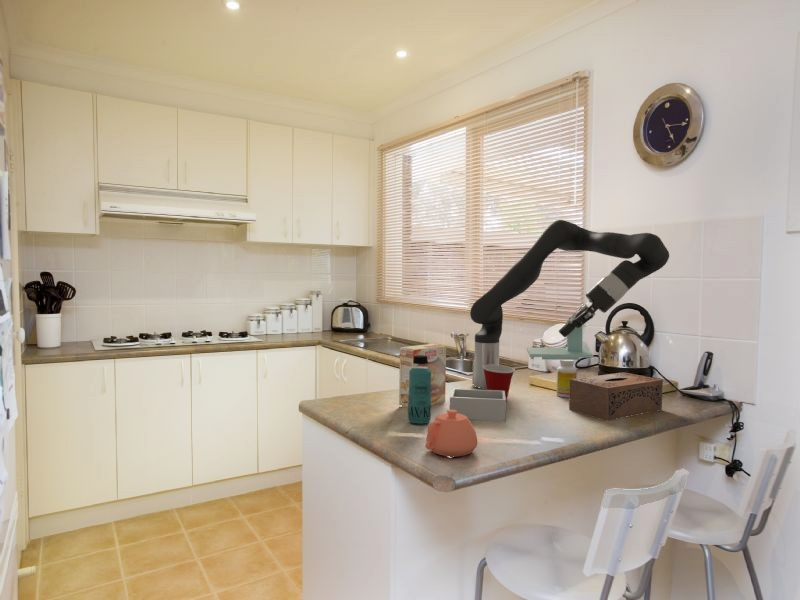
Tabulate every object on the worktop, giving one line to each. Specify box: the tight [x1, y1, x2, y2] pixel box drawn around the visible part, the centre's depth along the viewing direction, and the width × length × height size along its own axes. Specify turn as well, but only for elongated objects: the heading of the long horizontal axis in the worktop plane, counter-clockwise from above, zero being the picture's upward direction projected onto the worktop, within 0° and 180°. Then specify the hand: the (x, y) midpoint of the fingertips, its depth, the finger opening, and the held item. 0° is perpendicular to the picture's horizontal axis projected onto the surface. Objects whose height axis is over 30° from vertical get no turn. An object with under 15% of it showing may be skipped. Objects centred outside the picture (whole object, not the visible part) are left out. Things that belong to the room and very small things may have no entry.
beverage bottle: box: [407, 355, 432, 424], centre depth 148 cm, size 6×7×20 cm
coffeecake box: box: [398, 343, 447, 408], centre depth 171 cm, size 15×7×20 cm, turn 131°
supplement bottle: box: [556, 360, 578, 399], centre depth 186 cm, size 7×7×13 cm
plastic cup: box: [482, 364, 516, 402], centre depth 176 cm, size 11×11×12 cm
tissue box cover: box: [568, 371, 664, 421], centre depth 167 cm, size 26×14×10 cm, turn 119°
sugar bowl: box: [425, 409, 478, 457], centre depth 126 cm, size 12×14×10 cm
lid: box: [526, 319, 594, 361], centre depth 152 cm, size 17×13×11 cm
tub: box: [449, 388, 507, 422], centre depth 158 cm, size 16×12×7 cm
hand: (561, 334), depth 152 cm, fingers closed on lid, 1 cm apart
